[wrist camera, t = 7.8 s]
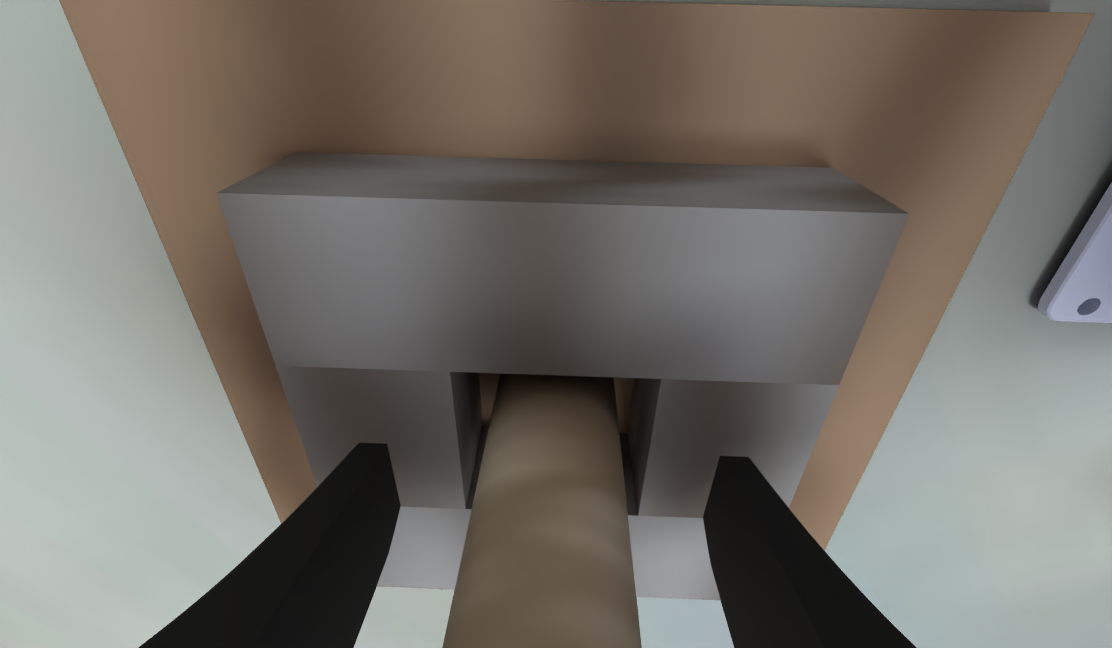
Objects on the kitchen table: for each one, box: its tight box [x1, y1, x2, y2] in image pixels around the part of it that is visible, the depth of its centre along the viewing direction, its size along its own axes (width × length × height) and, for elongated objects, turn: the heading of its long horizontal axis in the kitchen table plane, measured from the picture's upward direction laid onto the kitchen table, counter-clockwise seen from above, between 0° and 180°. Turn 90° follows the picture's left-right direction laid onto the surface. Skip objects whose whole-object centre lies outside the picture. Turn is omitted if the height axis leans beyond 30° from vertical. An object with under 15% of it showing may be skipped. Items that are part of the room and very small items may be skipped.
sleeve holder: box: [59, 0, 1095, 600], centre depth 14 cm, size 20×18×4 cm
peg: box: [443, 373, 641, 648], centre depth 10 cm, size 3×3×10 cm
